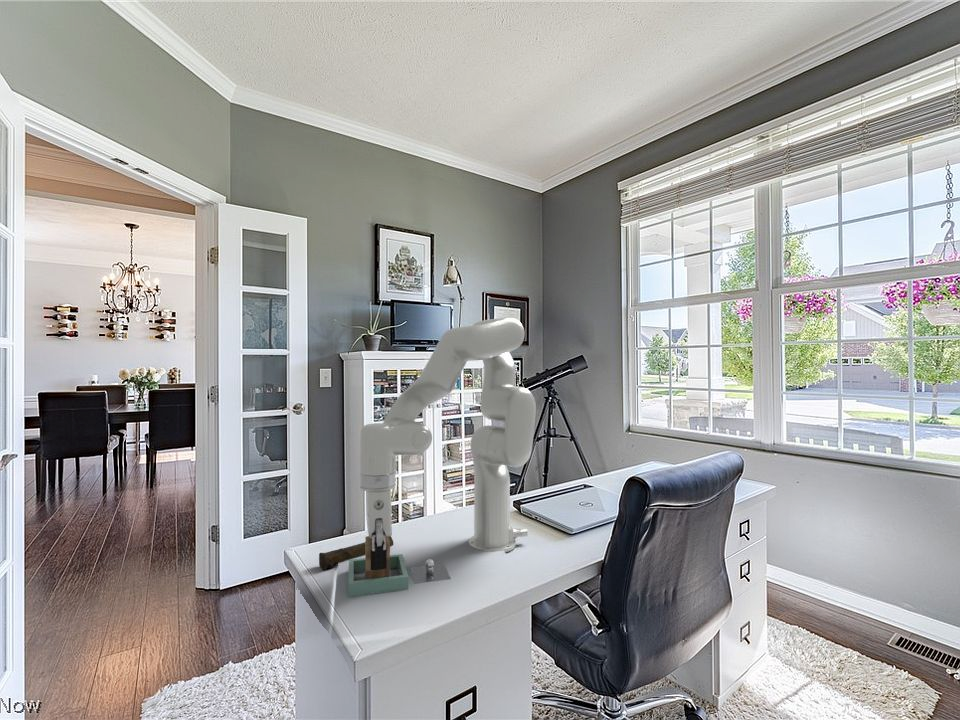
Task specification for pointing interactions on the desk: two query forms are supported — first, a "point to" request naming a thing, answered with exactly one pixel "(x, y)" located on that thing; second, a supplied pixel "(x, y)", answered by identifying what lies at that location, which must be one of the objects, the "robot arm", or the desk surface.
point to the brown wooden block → (368, 572)
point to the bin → (378, 583)
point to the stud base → (429, 578)
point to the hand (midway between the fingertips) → (377, 559)
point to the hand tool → (343, 555)
